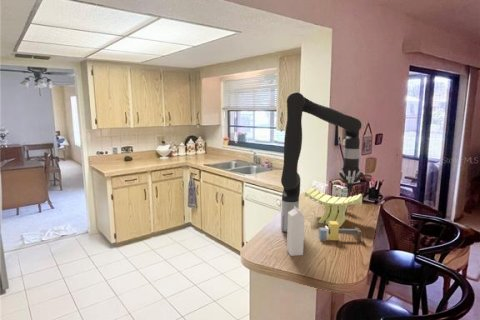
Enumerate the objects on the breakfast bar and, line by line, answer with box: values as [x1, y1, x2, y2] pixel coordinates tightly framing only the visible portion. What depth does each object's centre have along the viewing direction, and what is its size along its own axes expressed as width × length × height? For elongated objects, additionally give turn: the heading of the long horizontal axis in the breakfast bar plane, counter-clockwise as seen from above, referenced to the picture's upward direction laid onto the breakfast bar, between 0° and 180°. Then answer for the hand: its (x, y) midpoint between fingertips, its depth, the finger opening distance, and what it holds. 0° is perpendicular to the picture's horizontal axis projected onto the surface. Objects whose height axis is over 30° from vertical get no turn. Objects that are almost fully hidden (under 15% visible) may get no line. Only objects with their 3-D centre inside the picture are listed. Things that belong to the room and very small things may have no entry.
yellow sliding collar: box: [327, 221, 340, 241], centre depth 155 cm, size 4×5×8 cm
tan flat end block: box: [353, 226, 363, 243], centre depth 155 cm, size 2×6×6 cm, turn 178°
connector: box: [318, 227, 327, 242], centre depth 156 cm, size 3×4×6 cm
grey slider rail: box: [329, 228, 362, 235], centre depth 155 cm, size 20×2×2 cm, turn 88°
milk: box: [286, 206, 305, 257], centre depth 139 cm, size 6×6×22 cm
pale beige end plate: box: [324, 225, 329, 237], centre depth 155 cm, size 1×4×4 cm, turn 178°
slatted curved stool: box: [304, 187, 363, 228], centre depth 182 cm, size 30×16×18 cm, turn 58°
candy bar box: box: [331, 184, 349, 213], centre depth 203 cm, size 11×5×16 cm, turn 17°
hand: (349, 189), depth 158 cm, fingers closed
